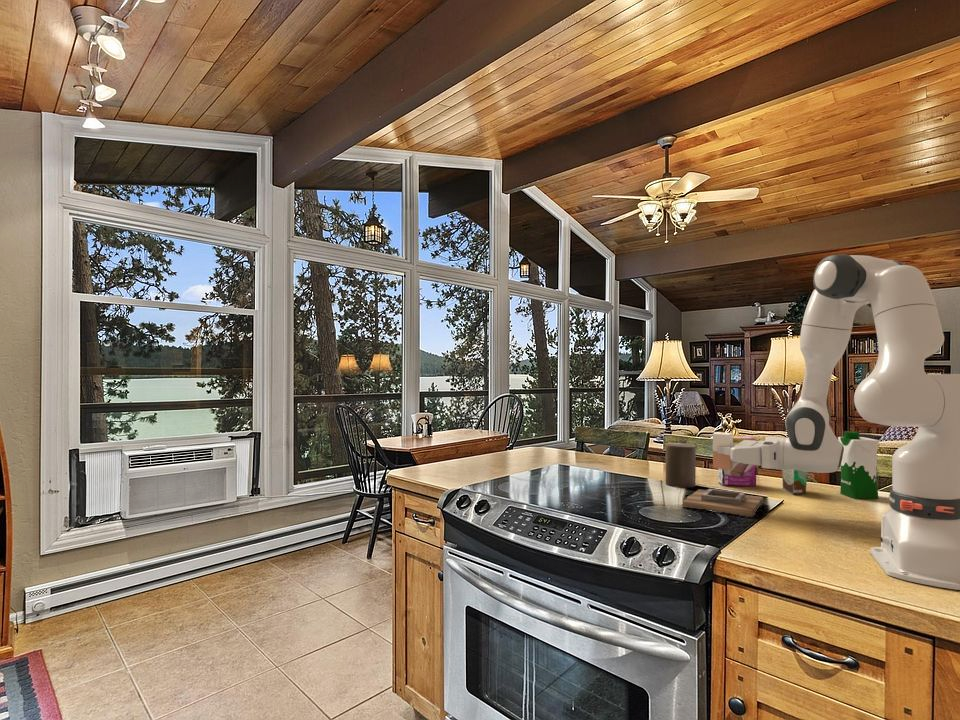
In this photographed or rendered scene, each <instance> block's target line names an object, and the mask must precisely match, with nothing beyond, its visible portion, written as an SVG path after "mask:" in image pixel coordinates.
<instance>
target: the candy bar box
mask: <svg viewBox="0 0 960 720" xmlns="http://www.w3.org/2000/svg"><path fill="white" fill-rule="evenodd" d="M743 440H754V441H757V438H756V437H753V436H736V435H735V436H733V444H739V443H740V442H742V441H743ZM717 471H718V472H717V473H718V474H717V481H718V483H719V485H721V486H722V487H723V486H724V487H756V486H757V465H750V464H744V463H738V462H734V461H733V468H732V469H730V470H726V469H718V470H717Z"/></svg>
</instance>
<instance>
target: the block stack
mask: <svg viewBox="0 0 960 720" xmlns="http://www.w3.org/2000/svg"><path fill="white" fill-rule="evenodd" d="M733 433H734V432H733ZM733 433H732V432H722V431H720V432H719V431H715V432H713V433H712V468H713V469H716V470H717V469H726V470H730V469H732V468H733V461H731V458H730V455H726V454H719V453H717V447H727V448H730V447H731V448H732V447H733Z"/></svg>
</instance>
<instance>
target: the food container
mask: <svg viewBox="0 0 960 720" xmlns="http://www.w3.org/2000/svg"><path fill="white" fill-rule="evenodd" d="M781 472H782V473H781V475H782V476H781V477H782V478H781V479H782V480H781V481H782V489H783V490H785V491H787V493H790V495H793V496H804V495H806V494H807V485H808V484H807V481H808V472H803V471H800V470H796V469H790V470H781ZM803 494H804V495H803Z"/></svg>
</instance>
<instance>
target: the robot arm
mask: <svg viewBox="0 0 960 720" xmlns="http://www.w3.org/2000/svg"><path fill="white" fill-rule="evenodd" d="M812 284H813V287H814V289H813V291H812V293H811V295H810V297H809V300H808V302H807V305H806V306H805V307H806V308H805V311H804V314H803V318H802V324H801V327H800V328H801V329H800V334H799V339H800V340H799V341H800V343H799V344H800V345H799V347H800V352H801V354H802V355H803V356H802V357H803V359H804V363H805V364H804V365H805V369H804V371H805V372H804V375H803V381H802V386H801V387H802V388H801V392H800V395H799V396H798V399H797V401H795V403H794V404H793V405H792V406H791V408H790V410H789V412H788V413H787V415H786V417H785V423H784V424H785V428H786V432H787V433H786V434H787V437H783V436H781V437H780V436H769V435H768V436H766V437H765V439H764V440H761V439H760V440H756V441H754V440H743V441H742V442H740V443H739V444H733V447H732V448H731V447H730V448H727V447H717V453H719V454H726V455H730V458H731V461H734V462H738V463H744V464H750V465H756V466H758V467H759V466H761V468H762V469H766V470H767V469H769V470H779V471H780V470H781V471H782V470H790V469H796V470H800V471H803V472H807V473H817V474H818V473H819V474H820V473H821V474H829V473H836V472H837V471H839V469H841V462H842V458H843V452H844V447H843V444H841V443H840V442H839V440H838V437H837V436H836V435H835V433H834V431H833V429H832V427H831V425H830V424H831V420H832V417H831V411H830V408H829V406H828V394H829V390H830V385H831V379H832V374H833V372H834V369H835V367H836V365H837V364H838V363H839V361H840V360H841V359H842V357H843V355H845V354H844V353H845V351H846V349H847V346H848V344H849V342H850V339H851V334H852V332H853V331H852V330H853V325H854V320H855V316H856V313H857V311H858V310H859V309H860V308H862V307H863V306H866V305H867V306H868V307H869V308H871V310H872V318H873V321H874V325H875V326H874V327H875V331H876V339H877V346H878V347H877V348H878V353H877V355H878V356H877V360H876V363H875V366H874V368H873V370H872V371H871V372H870V374H869V375H868V376H867V377H865V378H863V380H862V381H861V382H860V383H859V384H858V385H857V387H856V388H855V392H854V394H853V395H854V396H853V402H854V406H855V409H856V411H857V413H858V414H859V416H860V417H862V419H863V420H864V421H866V422H868V423H873V424H877V425H882V426H888V427H896V428H897V427H902V428H904V427H908V428H909V427H913V428H916V427H917V431H916V433H915V435H914V436H913V438H912V439H911V440H910V441H909V442H908V443H906V444H904V445H902V446H900V447H899V448H897V449H896V450H895V451H894V453H893V455H892V458H891V463H892V464H891V469H892V470H891V473H892V475H891V476H892V478H891V480H892V481H891V484H892V488H891V489H890V490H889V496H888V499H889V507H890V509H889V510H888V511H887V512H885V513H884V514H882V515H881V527H880V529H881V535H880V536H881V537H880V543H881V546H872V547H871V548H870V554H871V555H872V556H873V559H875V560H876V562H877V563H878V564H879V566H880V567H881V568H882V570H883V571H884V572H885V574H887V575H888V576H890V577H894V578H897V579H899V580H902V581H903V580H904V581H907V582H912V583H915V584H916V583H917V584H920V585H921V584H922V585H927V586H931V587H936V588H944V589H949V590H956V591H960V373H926V371H925V361H926V359H927V358H929V357H931V356H933V355H934V354H936V353H937V352H938V351H939V350H940V349H941V348H942V347H943V344H944V342H945V335H944V331H943V326H942V323H941V320H940V315H939V312H938V307H937V304H936V300H935V297H934V294H933V291H932V289H931V286H930V285H929V283H928V281H927V279H926V277H925V275H924V273H923V272H922V271H921V270H920V269H919V268H918V267H915V266H913V265H908V264H905V263H904V262H901V261H898V260H896V259H895V260H894V259H885V258H879V257H875V256H871V255H861V254H859V255H858V254H856V255H855V254H854V255H853V254H850V255H849V254H846V253H842V254H840V253H839V254H832V255H829V256H826V257H824V258H822V259H821V261H819V263H817V266H816V267H815V269H814V272H813V276H812Z"/></svg>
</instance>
